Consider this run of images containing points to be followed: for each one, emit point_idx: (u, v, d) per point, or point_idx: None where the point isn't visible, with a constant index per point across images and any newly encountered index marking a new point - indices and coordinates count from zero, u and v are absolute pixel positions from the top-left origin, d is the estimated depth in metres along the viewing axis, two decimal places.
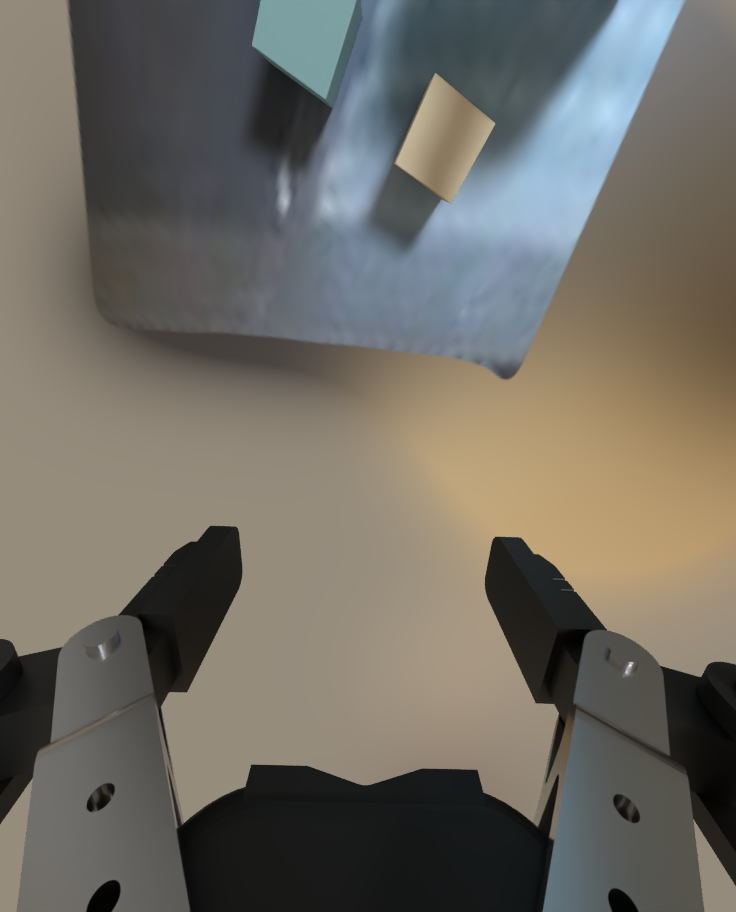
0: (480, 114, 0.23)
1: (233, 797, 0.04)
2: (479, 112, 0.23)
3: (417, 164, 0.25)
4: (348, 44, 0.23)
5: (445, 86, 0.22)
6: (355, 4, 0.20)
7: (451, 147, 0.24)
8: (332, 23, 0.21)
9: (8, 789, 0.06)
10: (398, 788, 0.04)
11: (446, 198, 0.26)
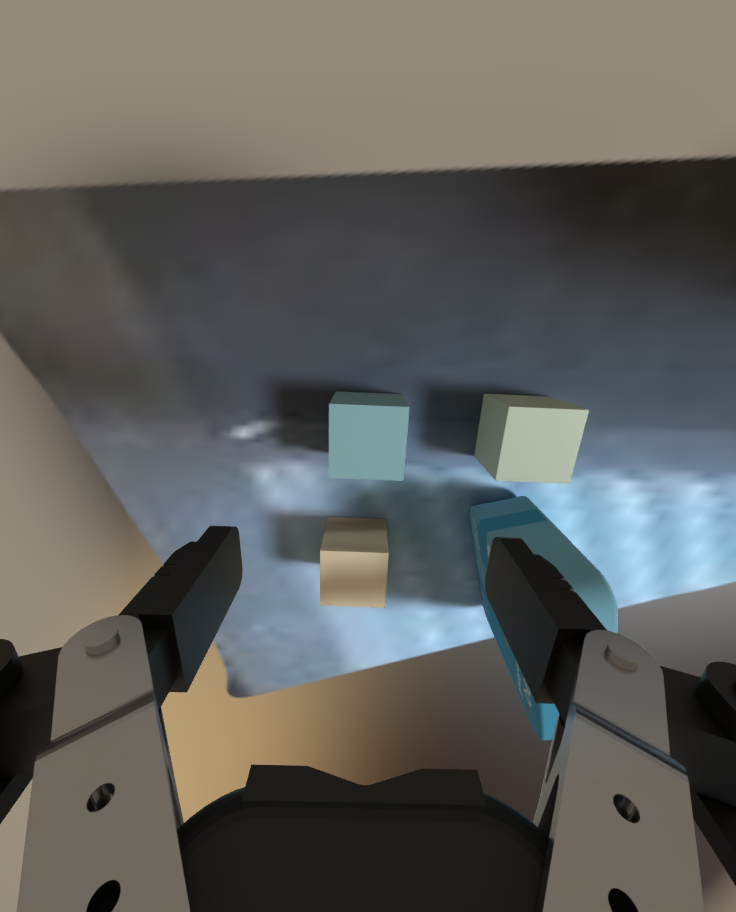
0: (383, 595, 0.26)
1: (233, 797, 0.04)
2: (384, 593, 0.26)
3: (329, 567, 0.25)
4: None
5: (385, 563, 0.25)
6: None
7: (354, 586, 0.26)
8: (376, 467, 0.22)
9: (8, 789, 0.06)
10: (399, 788, 0.04)
11: (321, 600, 0.26)
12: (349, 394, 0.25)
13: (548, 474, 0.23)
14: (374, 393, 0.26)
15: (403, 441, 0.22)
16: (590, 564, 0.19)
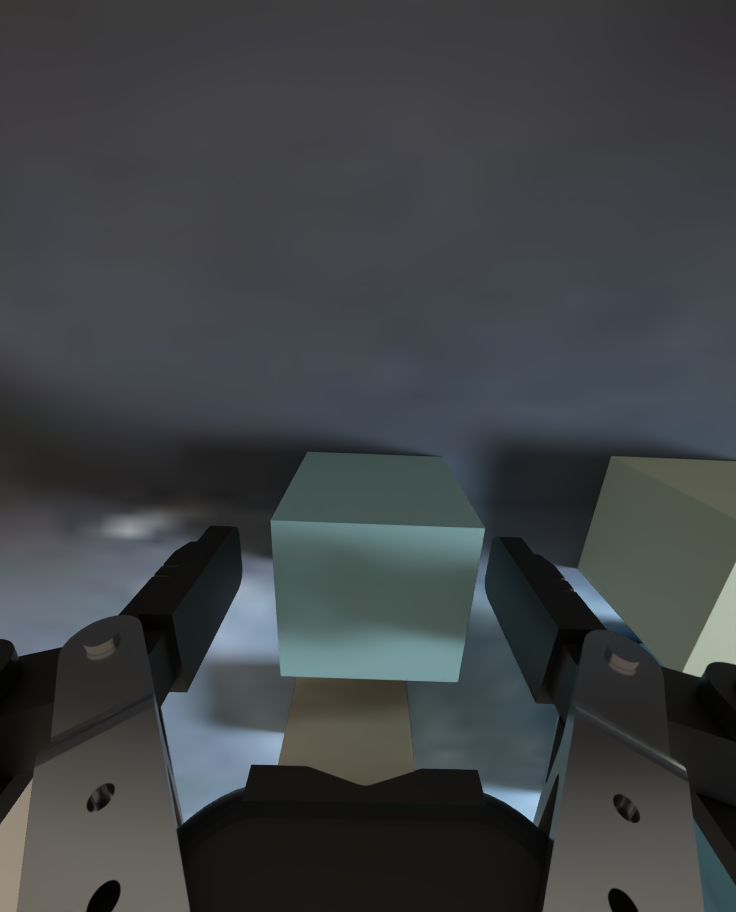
0: None
1: (233, 797, 0.04)
2: None
3: None
4: None
5: None
6: None
7: None
8: (394, 656, 0.09)
9: (8, 789, 0.06)
10: (398, 788, 0.04)
11: None
12: (333, 463, 0.11)
13: None
14: (386, 456, 0.12)
15: (463, 604, 0.09)
16: None
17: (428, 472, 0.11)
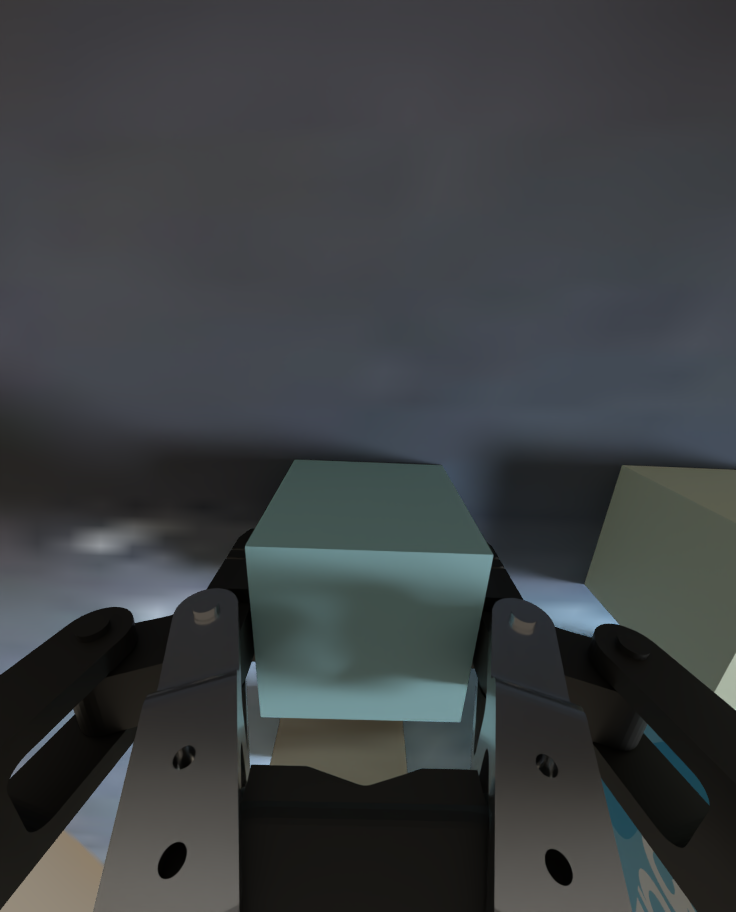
0: None
1: None
2: None
3: None
4: None
5: None
6: None
7: None
8: (389, 695, 0.08)
9: (115, 746, 0.06)
10: (399, 788, 0.04)
11: None
12: (322, 474, 0.10)
13: None
14: (380, 466, 0.11)
15: (467, 639, 0.08)
16: None
17: (427, 484, 0.10)
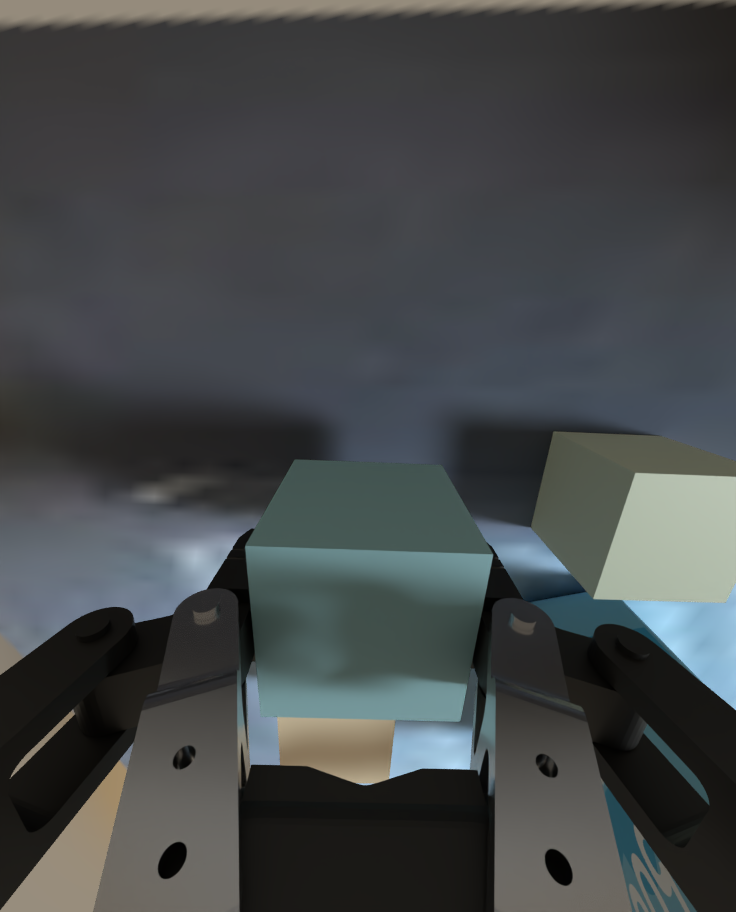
0: (387, 767, 0.16)
1: None
2: (388, 765, 0.15)
3: (294, 730, 0.15)
4: None
5: (390, 724, 0.15)
6: None
7: (338, 756, 0.15)
8: (389, 694, 0.08)
9: (115, 746, 0.06)
10: (398, 788, 0.04)
11: None
12: (322, 474, 0.10)
13: (690, 588, 0.12)
14: (380, 465, 0.11)
15: (467, 638, 0.08)
16: None
17: (426, 484, 0.10)
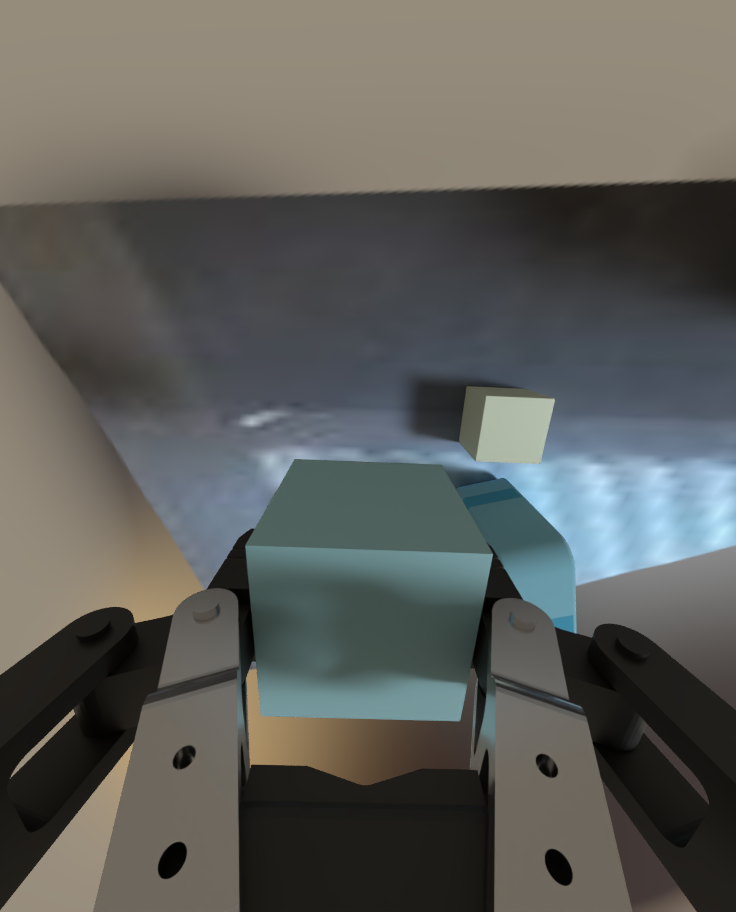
0: None
1: None
2: None
3: None
4: None
5: None
6: None
7: None
8: (389, 694, 0.08)
9: (115, 746, 0.06)
10: (399, 788, 0.04)
11: None
12: (322, 474, 0.10)
13: (521, 455, 0.26)
14: (380, 465, 0.11)
15: (467, 638, 0.08)
16: (553, 529, 0.22)
17: (426, 484, 0.10)
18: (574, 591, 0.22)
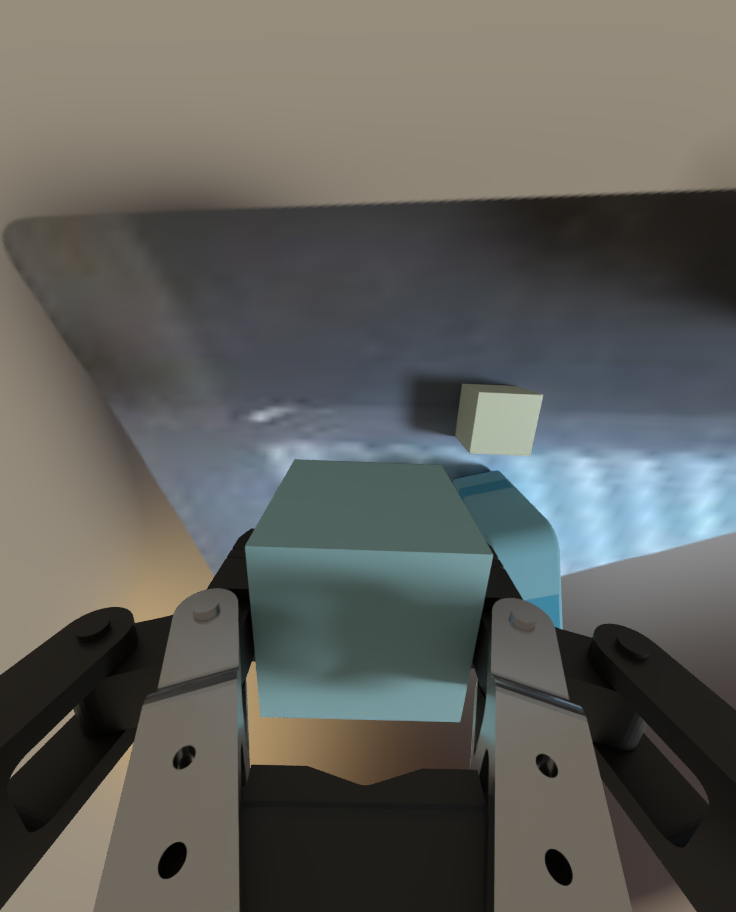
0: None
1: None
2: None
3: None
4: None
5: None
6: None
7: None
8: (389, 695, 0.08)
9: (115, 746, 0.06)
10: (398, 788, 0.04)
11: None
12: (322, 474, 0.10)
13: (512, 448, 0.28)
14: (380, 465, 0.11)
15: (467, 639, 0.08)
16: (540, 515, 0.24)
17: (427, 484, 0.10)
18: (559, 571, 0.23)
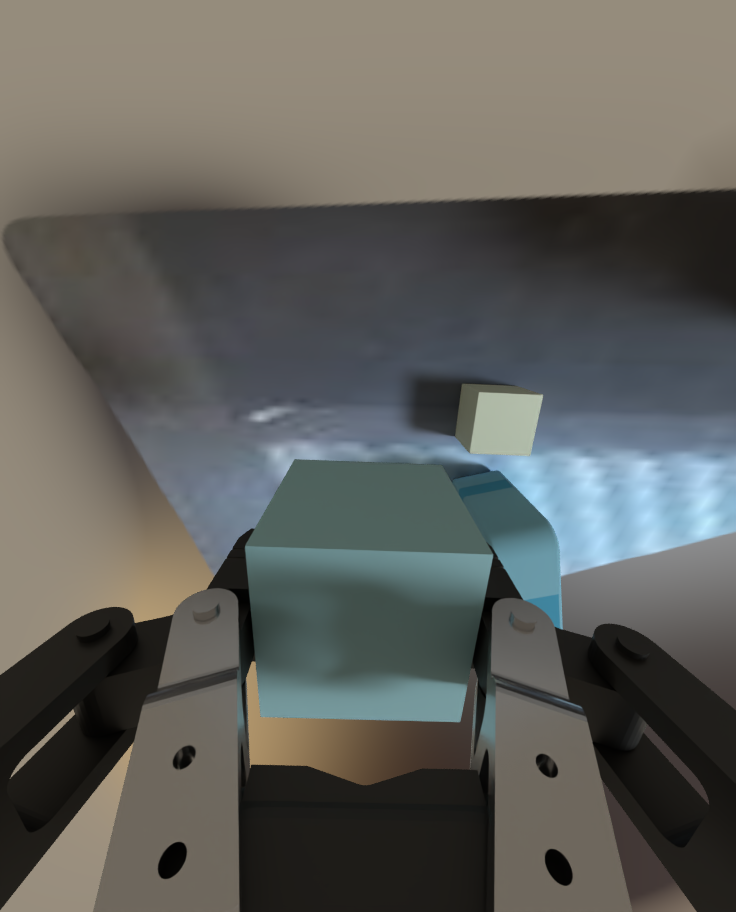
0: None
1: None
2: None
3: None
4: None
5: None
6: None
7: None
8: (389, 695, 0.08)
9: (115, 746, 0.06)
10: (398, 788, 0.04)
11: None
12: (322, 474, 0.10)
13: (512, 448, 0.28)
14: (380, 465, 0.11)
15: (467, 639, 0.08)
16: (540, 515, 0.24)
17: (426, 484, 0.10)
18: (559, 571, 0.23)
